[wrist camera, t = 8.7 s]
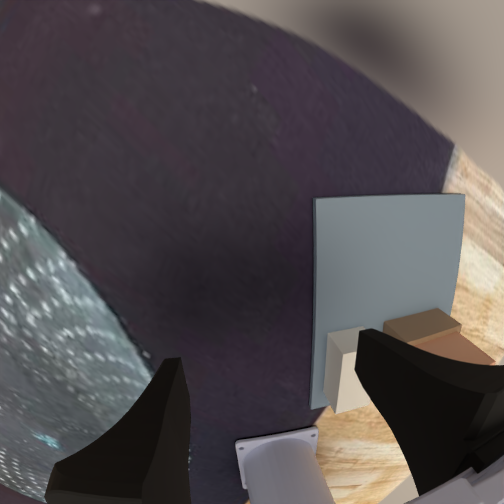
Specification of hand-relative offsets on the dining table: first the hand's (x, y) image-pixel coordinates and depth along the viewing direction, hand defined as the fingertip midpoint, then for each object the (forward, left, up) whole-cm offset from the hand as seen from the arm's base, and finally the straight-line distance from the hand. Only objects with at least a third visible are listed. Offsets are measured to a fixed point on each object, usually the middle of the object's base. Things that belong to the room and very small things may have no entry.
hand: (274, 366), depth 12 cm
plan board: (-4, -12, -10) cm, 16 cm away
